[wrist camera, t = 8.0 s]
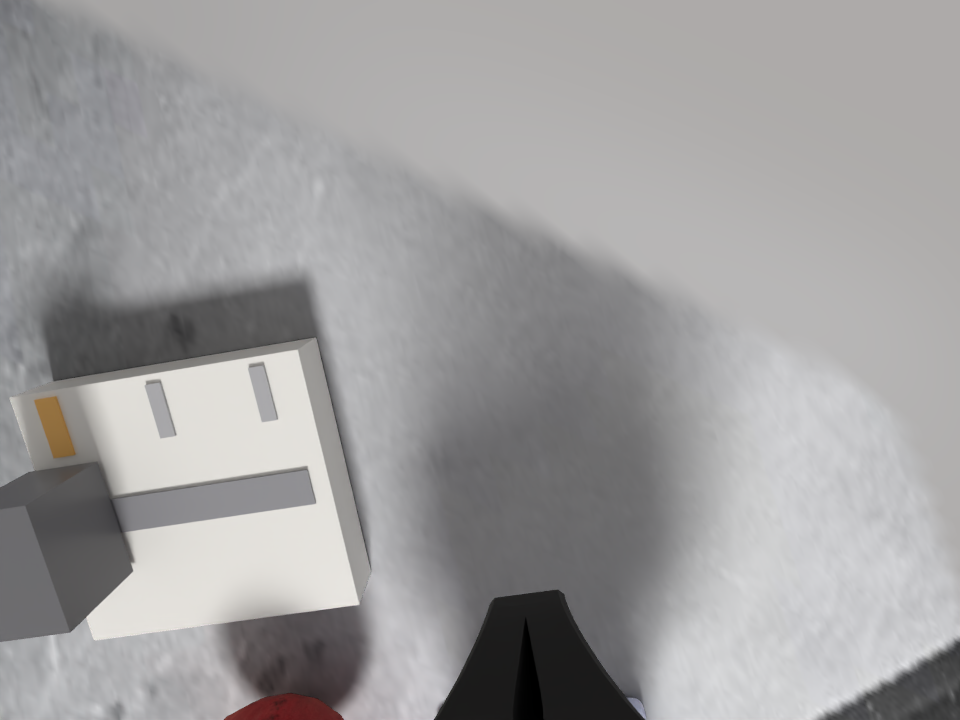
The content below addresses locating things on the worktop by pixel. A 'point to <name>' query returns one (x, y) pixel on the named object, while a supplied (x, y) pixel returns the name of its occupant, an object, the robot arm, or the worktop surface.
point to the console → (211, 485)
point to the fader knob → (57, 550)
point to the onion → (286, 709)
